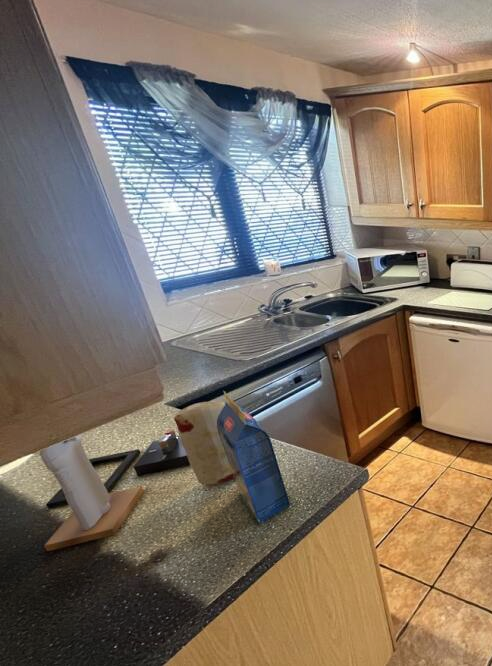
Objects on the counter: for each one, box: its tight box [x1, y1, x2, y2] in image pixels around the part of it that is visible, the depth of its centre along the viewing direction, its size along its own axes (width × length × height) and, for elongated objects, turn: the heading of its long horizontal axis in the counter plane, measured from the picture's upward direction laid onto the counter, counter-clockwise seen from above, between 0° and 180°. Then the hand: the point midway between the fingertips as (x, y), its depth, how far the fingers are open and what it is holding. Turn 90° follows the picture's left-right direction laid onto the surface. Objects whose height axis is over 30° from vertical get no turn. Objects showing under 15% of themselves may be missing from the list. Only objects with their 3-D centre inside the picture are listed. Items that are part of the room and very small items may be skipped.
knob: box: [158, 429, 178, 454], centre depth 94 cm, size 4×2×4 cm, turn 21°
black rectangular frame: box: [45, 448, 142, 509], centre depth 89 cm, size 10×15×1 cm, turn 21°
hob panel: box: [133, 435, 191, 478], centre depth 95 cm, size 11×10×3 cm
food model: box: [173, 400, 235, 486], centre depth 86 cm, size 10×7×20 cm
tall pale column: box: [39, 437, 111, 530], centre depth 75 cm, size 11×4×22 cm, turn 29°
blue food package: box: [217, 390, 291, 523], centre depth 78 cm, size 6×12×25 cm, turn 49°
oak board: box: [43, 485, 145, 552], centre depth 79 cm, size 10×12×2 cm
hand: (58, 442), depth 72 cm, fingers open, 3 cm apart
